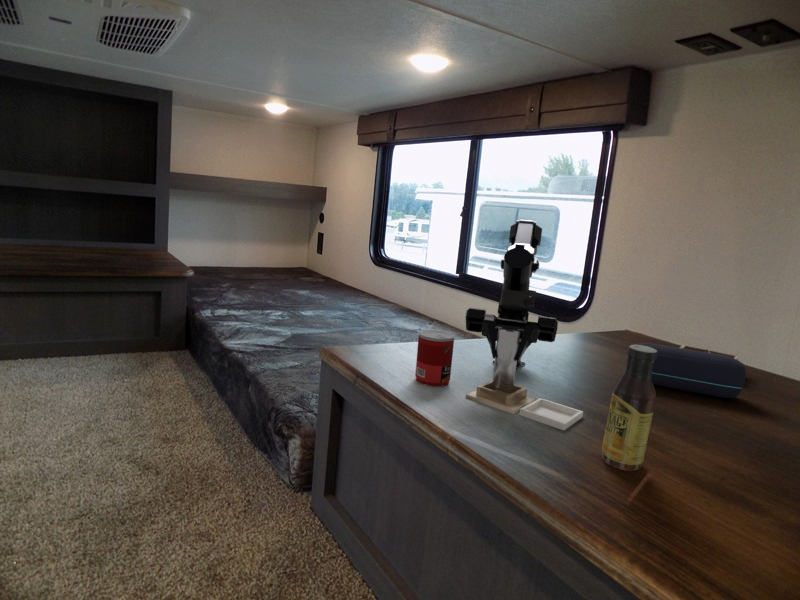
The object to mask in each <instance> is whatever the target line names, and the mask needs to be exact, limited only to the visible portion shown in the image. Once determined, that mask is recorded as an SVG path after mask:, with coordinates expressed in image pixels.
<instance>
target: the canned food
mask: <svg viewBox="0 0 800 600" xmlns="http://www.w3.org/2000/svg"><path fill="white" fill-rule="evenodd" d="M454 342H455V336H454V334H452V333H450V332H447V331H443V330H438V329H426V330H421V331H419V333H418V339H417V350H416V351H417V352H416V361H415V362H416V364H415V379H416V381H417V382H418V383H419V384H421V385H425V386H429V387H444V386H448V384H449V383H450V380H451V375H452V374H451V373H452V363H453V354H454V344H455V343H454Z"/></svg>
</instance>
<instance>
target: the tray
mask: <svg viewBox="0 0 800 600" xmlns="http://www.w3.org/2000/svg"><path fill="white" fill-rule="evenodd" d="M518 413H519V415H518V416H522V417H524V418H527V419H530V420H533V421H536V422H539V423H541V424H544V425H547V426H551V427H554V428H555V429H559V430H562V431H566V430H567V429H568V428H570V427H571V426H572V425H574V424H575V423H577V422H578V421H579V420H581V419H582V418H583V415H584V411H583V410H580V409H578V408H577V409H576V408H573V407H570V406H567V405H564V404H560V403H557V402H555V401H551V400H547V399H544V398H536V401H534V402H532V403H530V404H528V405H526V406H525V407H523V408H521V409H520V411H519V412H518Z"/></svg>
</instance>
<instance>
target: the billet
mask: <svg viewBox="0 0 800 600" xmlns="http://www.w3.org/2000/svg"><path fill="white" fill-rule="evenodd" d="M519 338H520V330H518V329H514V328H508V327H501V328H498V336H497V341H496V354H495V359H494V360H495V362H494V363H493V364H494V365H493V372H492V373H493V374H492V386H493V387H495V388H497V389H502V390H511V389H513V388H514V385H515V378H516V372H517V371H516V369H517V368H516V363H517V354H518V346H519Z"/></svg>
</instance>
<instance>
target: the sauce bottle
mask: <svg viewBox="0 0 800 600" xmlns="http://www.w3.org/2000/svg"><path fill="white" fill-rule="evenodd" d="M627 357H628V361H627V360H626V366H625V369H624V372H623V374H622V375H621V377H620V379H619V380H618V383H617V384H616V385H615V388H614V389H613V390H612V393H611V397H610V402H609V403H610V404H609V409H608V414H607V418H606V425H605V431H604V436H603V441H602V442H603V443H602V445H601V450H602V452H601V459H602V460H603V462H605V464H607V465H609V466H611V467H613V468H615V469H618V470H622V471H623V470H624V471H628V472H633V471H638V470H641V469H642V463H643V462H644V460H645V459H644V458H645V453H646V449H647V443H648V439H649V433H650V429H651V426H652V425H651V424H652V419H653V415H654V406H655V401H656V398H657V397H656V396H657V394H656V389H655V387H654V386H655V385H653V384H652V381H651V377H652V370H653V365H654V361H655V360H656V358H657V350H655V349H653V348H651V347H648V346H643V345H635V344H630V345H629V346H628V348H627Z"/></svg>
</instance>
